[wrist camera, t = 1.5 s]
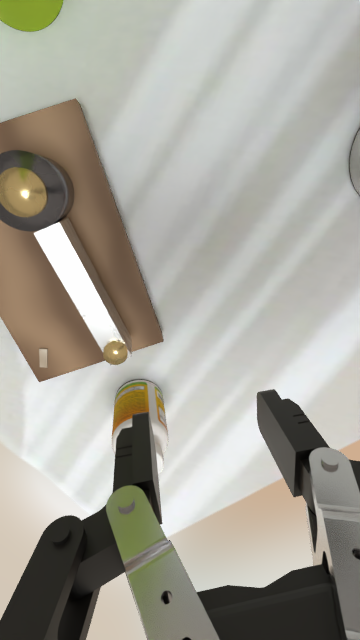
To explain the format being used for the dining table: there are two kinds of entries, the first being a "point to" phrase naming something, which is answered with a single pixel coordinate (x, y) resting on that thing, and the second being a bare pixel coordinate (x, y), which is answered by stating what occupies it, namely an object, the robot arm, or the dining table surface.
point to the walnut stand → (97, 239)
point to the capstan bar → (60, 242)
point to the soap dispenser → (29, 13)
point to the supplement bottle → (140, 400)
